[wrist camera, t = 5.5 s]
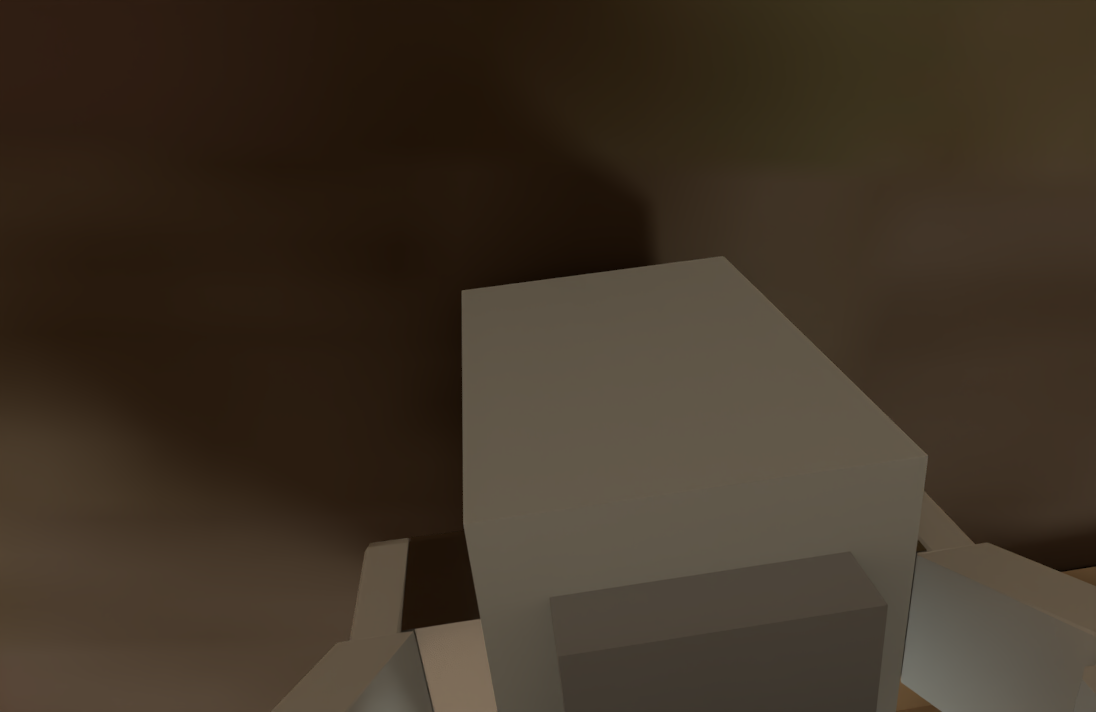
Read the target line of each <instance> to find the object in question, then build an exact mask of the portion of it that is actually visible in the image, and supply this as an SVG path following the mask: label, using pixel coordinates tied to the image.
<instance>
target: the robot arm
mask: <svg viewBox="0 0 1096 712" xmlns="http://www.w3.org/2000/svg"><path fill="white" fill-rule="evenodd" d="M900 678H901V683H903V684H904V685H905V686H907V687H908V688H910V689H911V690H912V691H914V692H915V693H917V694H918V695H919V696H921V697H922V698H924V699H925V700H926V701H928V702H929V703H931V704H932V705H933V706H935V707H936V708H938V709H939V710H940V711H942V712H1096V586H1094V585H1092V584H1089V583H1087V582H1084V581H1082V580H1079V579H1077V578H1074V577H1072V576H1069V575H1067V574H1064V573H1062V572H1059V571H1057V570H1055V569H1052V568H1050V567H1047V566H1045V565H1042V564H1040V563H1037V562H1035V561H1032V560H1030V559H1027V558H1025V557H1022V556H1020V555H1017V554H1015V553H1013V552H1010V551H1008V550H1005V549H1003V548H1000V547H998V546H995V545H993V544H990V543H988V542H987V543H980V544H975V543H974V542H973V541H972V540H971V539H970V538H969V537H968V536H967V535H966V534H965V533H964V532H963V531H962V530H961V529H960V528H959V527H958V526H957V525H956V524H955V523H954V522H953V521H952V519H951V518H950V517H949V516H948V515H947V514H946V513H945V512H944V511H943V510H942V509H941V508H940V507H939V506H938V505H937V504H936V503H935V502H934V501H933V500H932V499H931V498H930V497H929V496H928V494H927V493H926V492H925V491H924V493H923V501H922V509H921V517H920V525H919V533H918V540H917V548H916V556H915V564H914V572H913V580H912V588H911V596H910V604H909V612H908V620H907V628H906V636H905V644H904V652H903V660H902V668H901V675H900ZM271 712H498V711H497V706H496V700H495V695H494V690H493V684H492V679H491V673H490V668H489V662H488V657H487V651H486V646H485V640H484V635H483V629H482V624H481V619H480V613H479V608H478V602H477V597H476V591H475V586H474V580H473V575H472V569H471V564H470V559H469V553H468V548H467V542H466V537H465V531H456V532H448V533H440V534H432V535H424V536H416V537H412V538H411V539H410V538H402V539H395V540H388V541H381V542H374V543H370V544H369V546H368V547H367V549H366V550H365V554H364V560H363V566H362V571H361V577H360V583H359V589H358V594H357V600H356V606H355V612H354V617H353V623H352V629H351V634H350V640H349V641H345V642H339V643H336V644H335V645H334V646H333V647H332V648H331V649H330V650H329V651H328V653H327V654H326V655H325V656H324V657H323V658H322V659H321V660H320V661H319V662H318V663H317V664H316V665H315V666H314V667H313V668H312V669H311V670H310V671H309V672H308V673H307V674H306V675H305V676H304V678H303V679H302V680H301V681H300V682H299V683H298V684H297V685H296V686H295V687H294V688H293V689H292V690H291V691H290V692H289V693H288V694H287V695H286V696H285V697H284V698H283V699H282V700H281V701H280V703H279V704H278V705H277V706H276V707H275V708H274V709H273V710H272V711H271Z"/></svg>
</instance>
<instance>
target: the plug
mask: <svg viewBox="0 0 1096 712" xmlns="http://www.w3.org/2000/svg"><path fill="white" fill-rule="evenodd" d="M462 423H463V526H464V531H465V537H466V542H467V548H468V553H469V559H470V564H471V569H472V575H473V580H474V586H475V591H476V597H477V602H478V608H479V613H480V619H481V624H482V629H483V635H484V640H485V646H486V651H487V657H488V662H489V668H490V673H491V679H492V684H493V690H494V695H495V700H496V706H497V711H498V712H896V707H897V699H898V691H899V683H900V675H901V668H902V660H903V652H904V644H905V636H906V628H907V620H908V612H909V604H910V596H911V588H912V580H913V572H914V564H915V556H916V548H917V540H918V533H919V525H920V517H921V509H922V501H923V493H924V485H925V477H926V469H927V461H928V455H927V454H926V453H925V452H924V451H923V450H922V449H921V448H920V447H919V446H918V445H917V444H916V443H915V442H913V441H912V440H911V439H910V438H909V437H908V436H907V435H906V434H905V433H904V432H903V431H902V430H901V429H900V428H899V427H898V426H897V425H896V424H895V423H894V422H893V421H892V420H891V419H890V418H889V417H888V416H887V415H886V414H885V413H884V412H883V411H882V410H881V409H880V408H879V407H878V406H877V405H876V404H875V403H874V402H872V401H871V400H870V399H869V398H868V397H867V396H866V395H865V394H864V393H863V392H862V391H861V390H860V389H859V388H858V387H857V386H856V385H855V384H854V383H853V382H852V381H851V380H850V379H849V378H848V377H847V376H846V375H845V374H844V373H843V372H842V371H841V370H840V369H839V368H838V367H837V366H836V365H835V364H834V363H833V362H831V361H830V360H829V359H828V358H827V357H826V356H825V355H824V354H823V353H822V352H821V351H820V350H819V349H818V348H817V347H816V346H815V345H814V344H813V343H812V342H811V341H810V340H809V339H808V338H807V337H806V336H805V335H804V334H803V333H802V332H801V331H800V330H799V329H798V328H797V327H796V326H795V325H794V324H793V323H792V322H790V321H789V320H788V319H787V318H786V317H785V316H784V315H783V314H782V313H781V312H780V311H779V310H778V309H777V308H776V307H775V306H774V305H773V304H772V303H771V302H770V301H769V300H768V299H767V298H766V297H765V296H764V295H763V294H762V293H761V292H760V291H759V290H758V289H757V288H756V287H755V286H754V285H753V284H752V283H751V282H749V281H748V280H747V279H746V278H745V277H744V276H743V275H742V274H741V273H740V272H739V271H738V270H737V269H736V268H735V267H734V266H733V265H732V264H731V263H730V262H729V261H728V260H727V259H726V258H725V257H724V256H720V257H712V258H704V259H697V260H689V261H682V262H674V263H667V264H659V265H651V266H644V267H636V268H629V269H621V270H613V271H606V272H598V273H591V274H583V275H576V276H568V277H560V278H553V279H545V280H538V281H530V282H523V283H515V284H507V285H500V286H492V287H485V288H477V289H469V290H462Z"/></svg>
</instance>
